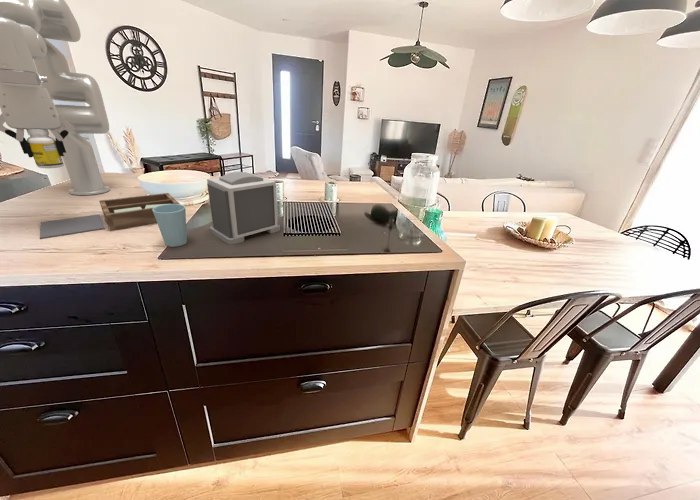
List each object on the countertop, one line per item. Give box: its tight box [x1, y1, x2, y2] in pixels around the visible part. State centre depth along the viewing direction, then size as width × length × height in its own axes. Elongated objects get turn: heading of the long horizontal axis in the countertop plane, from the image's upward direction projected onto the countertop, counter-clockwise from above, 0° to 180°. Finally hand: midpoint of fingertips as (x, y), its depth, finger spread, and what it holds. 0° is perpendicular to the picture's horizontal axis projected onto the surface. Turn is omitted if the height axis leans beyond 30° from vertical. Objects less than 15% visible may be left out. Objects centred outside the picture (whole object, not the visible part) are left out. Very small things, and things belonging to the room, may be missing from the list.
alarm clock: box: [206, 171, 281, 245], centre depth 91 cm, size 18×13×18 cm
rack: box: [99, 192, 182, 232], centre depth 97 cm, size 16×20×5 cm
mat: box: [39, 213, 106, 240], centre depth 88 cm, size 14×14×1 cm
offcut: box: [114, 207, 142, 213], centre depth 93 cm, size 4×7×4 cm, turn 132°
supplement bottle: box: [25, 129, 65, 169], centre depth 78 cm, size 5×5×10 cm
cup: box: [152, 203, 188, 248], centre depth 81 cm, size 8×8×10 cm
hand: (46, 155), depth 79 cm, fingers closed on supplement bottle, 5 cm apart
